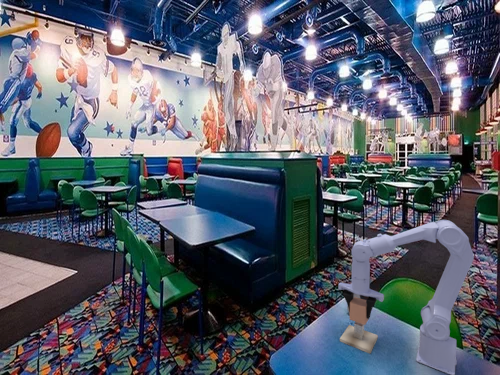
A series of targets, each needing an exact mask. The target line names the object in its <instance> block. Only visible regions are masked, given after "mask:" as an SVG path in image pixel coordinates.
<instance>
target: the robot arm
mask: <svg viewBox="0 0 500 375" xmlns="http://www.w3.org/2000/svg"><path fill="white" fill-rule="evenodd" d="M422 240H423V241H428V242H431V243H434V244H435V243H437V240H438V242H439V243H440V244H441V245H442V246H444V247H445V248H446V249H447V251H448V252H449V254H450V255H449V259H448V261H447V263H446V265H445V267H444V269H443V270H444V271H443V272H442V275H441V277H440V279H439V282H438V284H437V287H436V289H435V292H434V294H433V296H432V298H431V299H430V300H428V302H427V304H426V305H425V306H424V307H422V308H421V311H420V316H421V319H422V323H421V325H420V327H419V340H418V341H419V343H418V344H419V346H418V348H417V354H416V359H415V361H416V362H417V363H419V364H422V365H425V366H427V367H430V368H433V369H434V370H435V369H436V370H437V371H439V372H443V373H445V374H448V375H456V366H457V364H458V359H457V358H456V357H457V339H456V338H453V337H451V336H450V333H451V330H450V324H451V322H452V321H451V320H452V310H453V307H454V305H455V302H456V300H457V298H458V296H459V294H460V291H461V289H462V286H463V284H464V282H465V280H466V278H467V275H468V273H469V271H470V268H471V266H472V263H473V262H474V259H475V258H474V256H475V255H474V252H473V250H472V246H471V244H470V238H469V236H467V234H466V233H465V232H464V231H463V230H462V229H461V227H458V226H457V225H456V223H454V222H452V221H451V220H447V219H440V220H437V221H431V222H428V223H425V224H422V225H419V226H417V227H416V226H415V227H414V228H411V229H408V230H405V231H403V232H400V233H397V234H394V235H388V234H386V233H385V234H382V233H378V234H377V236H375V237H372V238H369V239H366V238H364V239H363V240H359V241H356V242H355V243H354V244H353V246H352V248H351V256H352V258H351V259H352V262H351V283H346V282H339V283H338V286H337V287H338V290H339V291H343V292H342V295H343V298H344V300H345V302H346V305H347V306H348V309H349V312H348V314H349V313H350V302H351V301H352V299H353V296H354V293H355V294H358V295H360V296H363V297H367V298H366V299H365V300H366V303H367V315H366V316H367V319H370V318H371V313H372V311H373V308H374V306H375V303H376V302H377V301H379V302H381V303H383V301H384V300H385V294H384V293H382V292H379V291H377V290H373V289H371V288H370V281H371V280H370V278H371V276H370V273H371V271H370V270H371V264H370V258H372V257H377V256H381V255H385V254H388V253H391V252H394V251H395V248H396V247H397V246H402V245H406V244H411V243H414V242H418V241H422Z"/></svg>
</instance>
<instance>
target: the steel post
mask: <svg viewBox="0 0 500 375" xmlns="http://www.w3.org/2000/svg"><path fill="white" fill-rule="evenodd" d="M353 325H354V337H355V338H357V339H360V340H362V339H363V337H364V330H365V325H364V324H361V323H358V322H355V321H354V324H353Z"/></svg>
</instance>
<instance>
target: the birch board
mask: <svg viewBox="0 0 500 375" xmlns="http://www.w3.org/2000/svg"><path fill="white" fill-rule="evenodd" d="M378 339H379V336H378V334H375V333H372V332H370V331H368V330H365V329H364V337H363V339H362V340H360V339H357V338H355V337H354V326H353V325H350V324H349V325H348V326H347V327H346V329H345V330H344V332H343V333H342V335H341V336H340V337H339V342H341V343H342V344H345V345H348V346H350V347H353V348H355V349H357V350H359V351H362V352H365V353H367V354H370V355H371V354H372V351H373V349H374V348H375V345H376V342H377V340H378Z"/></svg>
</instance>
